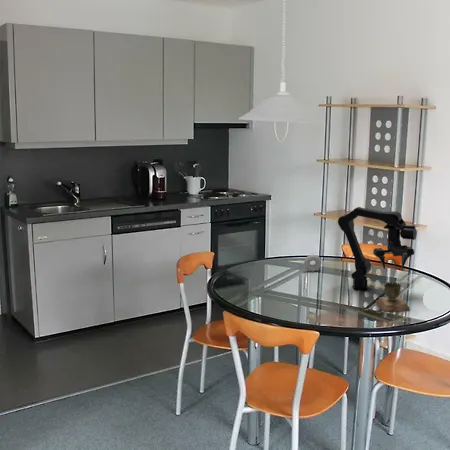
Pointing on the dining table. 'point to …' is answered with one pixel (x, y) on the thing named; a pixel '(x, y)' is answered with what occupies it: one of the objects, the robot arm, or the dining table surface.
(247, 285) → the dining table surface
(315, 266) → the donut
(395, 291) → the cup
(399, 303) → the plinth
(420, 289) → the dining table surface
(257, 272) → the dining table surface
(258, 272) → the dining table surface
